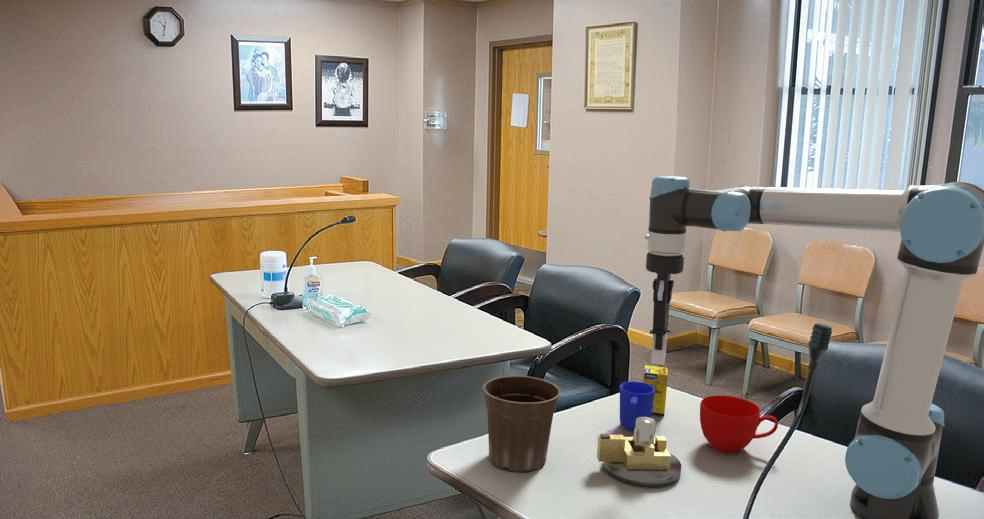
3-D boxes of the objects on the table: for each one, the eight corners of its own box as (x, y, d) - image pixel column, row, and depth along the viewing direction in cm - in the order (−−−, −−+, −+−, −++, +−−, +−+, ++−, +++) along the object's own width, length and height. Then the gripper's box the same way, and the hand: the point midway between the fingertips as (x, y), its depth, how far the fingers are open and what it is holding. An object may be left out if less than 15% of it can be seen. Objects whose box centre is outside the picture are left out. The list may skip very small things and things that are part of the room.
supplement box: (664, 417, 192) (668, 375, 190) (640, 414, 194) (643, 372, 191) (664, 408, 198) (668, 367, 196) (640, 405, 199) (643, 364, 197)
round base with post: (693, 468, 165) (697, 420, 163) (659, 496, 153) (664, 444, 151) (626, 446, 175) (629, 399, 173) (589, 470, 163) (592, 421, 160)
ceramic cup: (776, 467, 168) (781, 423, 166) (695, 454, 172) (699, 412, 170) (772, 442, 180) (777, 402, 178) (697, 431, 184) (701, 391, 182)
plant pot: (527, 437, 177) (531, 370, 174) (571, 466, 164) (576, 394, 161) (465, 452, 169) (468, 381, 165) (507, 484, 155) (511, 408, 152)
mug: (611, 437, 179) (615, 396, 177) (619, 418, 191) (622, 379, 189) (648, 443, 177) (651, 401, 175) (653, 423, 188) (656, 384, 186)
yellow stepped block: (657, 450, 168) (659, 426, 167) (669, 469, 160) (671, 445, 158) (593, 449, 167) (595, 426, 166) (602, 469, 158) (604, 444, 157)
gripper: (650, 246, 166) (643, 352, 170) (643, 256, 154) (635, 370, 158) (686, 248, 164) (678, 356, 168) (681, 259, 151) (673, 375, 156)
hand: (658, 363), depth 163 cm, fingers closed
